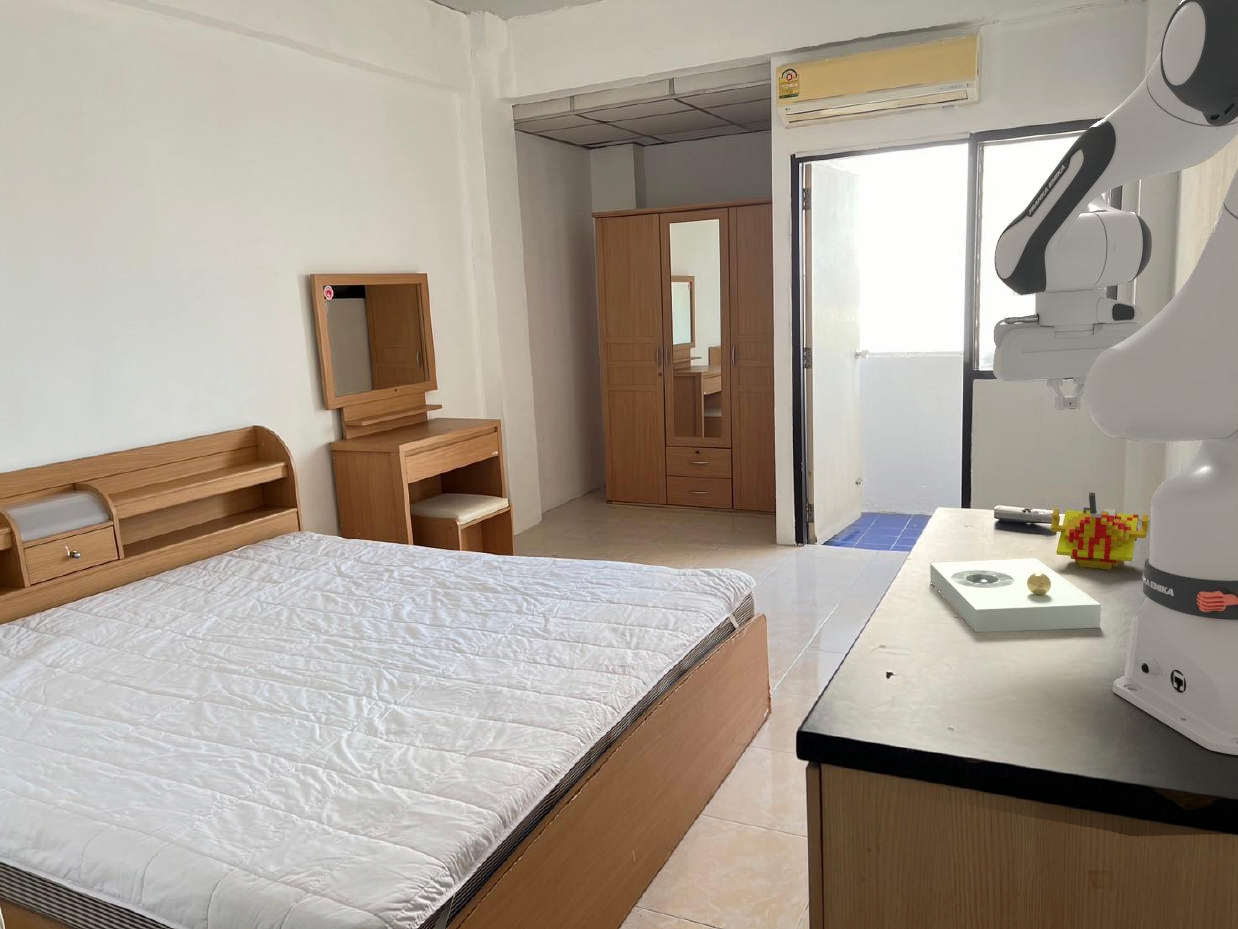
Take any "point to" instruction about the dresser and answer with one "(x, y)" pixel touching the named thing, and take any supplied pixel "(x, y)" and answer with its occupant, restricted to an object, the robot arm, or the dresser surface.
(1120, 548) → the toy
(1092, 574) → the dresser surface
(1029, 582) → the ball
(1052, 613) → the board
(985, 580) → the ball
